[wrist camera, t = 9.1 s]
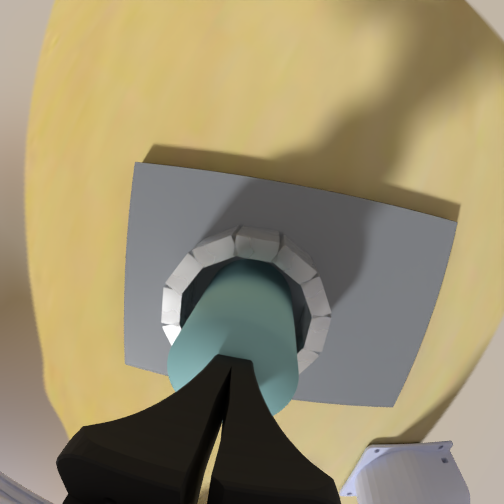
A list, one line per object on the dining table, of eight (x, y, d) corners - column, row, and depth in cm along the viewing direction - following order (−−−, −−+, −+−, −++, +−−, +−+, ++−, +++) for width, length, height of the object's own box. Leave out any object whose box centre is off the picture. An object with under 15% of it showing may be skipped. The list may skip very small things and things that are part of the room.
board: (450, 220, 18) (457, 222, 17) (389, 399, 21) (392, 407, 20) (141, 162, 19) (135, 162, 18) (130, 357, 22) (125, 364, 21)
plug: (299, 267, 19) (313, 331, 11) (282, 342, 20) (282, 432, 12) (213, 252, 19) (170, 304, 11) (203, 328, 20) (165, 409, 12)
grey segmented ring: (335, 241, 18) (347, 254, 15) (303, 369, 20) (306, 398, 17) (187, 215, 18) (169, 223, 15) (174, 345, 20) (159, 371, 17)
